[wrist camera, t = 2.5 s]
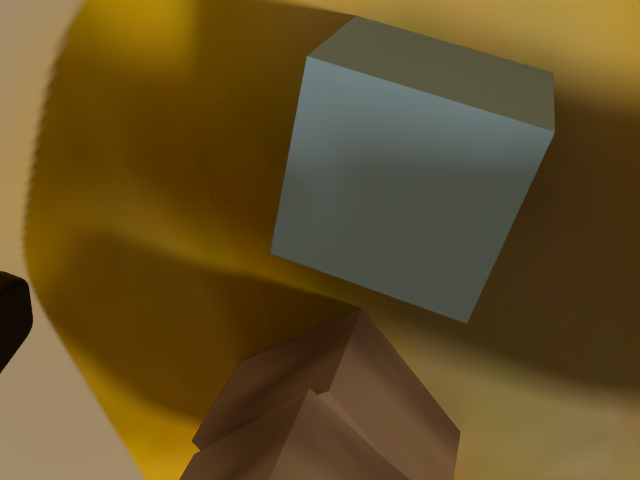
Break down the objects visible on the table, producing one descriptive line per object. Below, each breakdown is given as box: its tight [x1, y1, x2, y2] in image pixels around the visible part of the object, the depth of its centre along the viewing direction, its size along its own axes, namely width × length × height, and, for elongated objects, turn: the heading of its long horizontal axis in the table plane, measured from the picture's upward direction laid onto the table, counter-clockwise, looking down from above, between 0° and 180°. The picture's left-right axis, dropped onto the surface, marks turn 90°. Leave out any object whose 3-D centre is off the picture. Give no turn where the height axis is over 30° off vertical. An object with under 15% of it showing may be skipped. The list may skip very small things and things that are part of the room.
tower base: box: [192, 308, 460, 480], centre depth 21 cm, size 6×6×4 cm
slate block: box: [270, 16, 555, 324], centre depth 15 cm, size 5×5×4 cm
